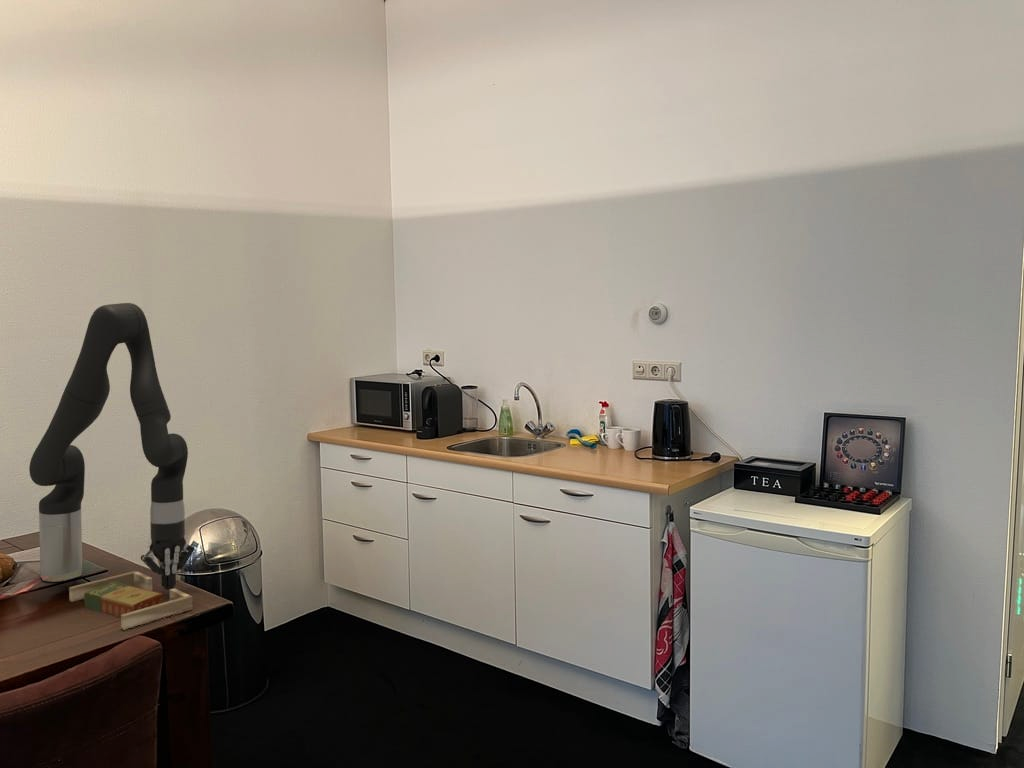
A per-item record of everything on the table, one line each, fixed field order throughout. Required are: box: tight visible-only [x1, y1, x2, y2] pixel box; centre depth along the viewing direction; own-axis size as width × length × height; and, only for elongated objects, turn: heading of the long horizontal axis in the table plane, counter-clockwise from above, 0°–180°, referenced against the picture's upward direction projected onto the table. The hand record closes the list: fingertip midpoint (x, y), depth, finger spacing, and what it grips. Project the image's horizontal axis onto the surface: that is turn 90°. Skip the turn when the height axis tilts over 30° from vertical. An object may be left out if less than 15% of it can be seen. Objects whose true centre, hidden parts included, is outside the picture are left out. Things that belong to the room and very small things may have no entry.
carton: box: [83, 582, 164, 618], centre depth 187 cm, size 8×16×4 cm, turn 65°
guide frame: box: [68, 570, 193, 631], centre depth 188 cm, size 25×16×3 cm, turn 52°
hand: (168, 588), depth 195 cm, fingers closed
